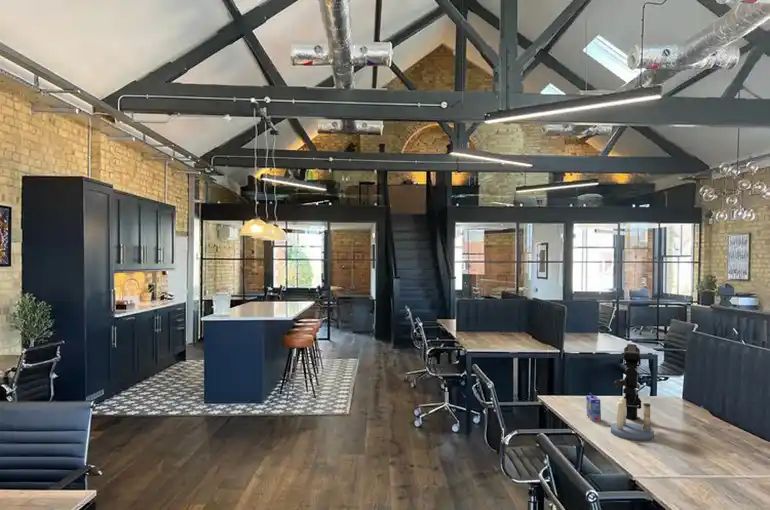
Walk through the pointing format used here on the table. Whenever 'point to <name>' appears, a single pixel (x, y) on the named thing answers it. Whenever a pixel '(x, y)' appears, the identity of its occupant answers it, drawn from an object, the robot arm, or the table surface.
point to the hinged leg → (646, 416)
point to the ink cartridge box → (593, 408)
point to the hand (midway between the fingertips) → (631, 404)
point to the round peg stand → (629, 426)
